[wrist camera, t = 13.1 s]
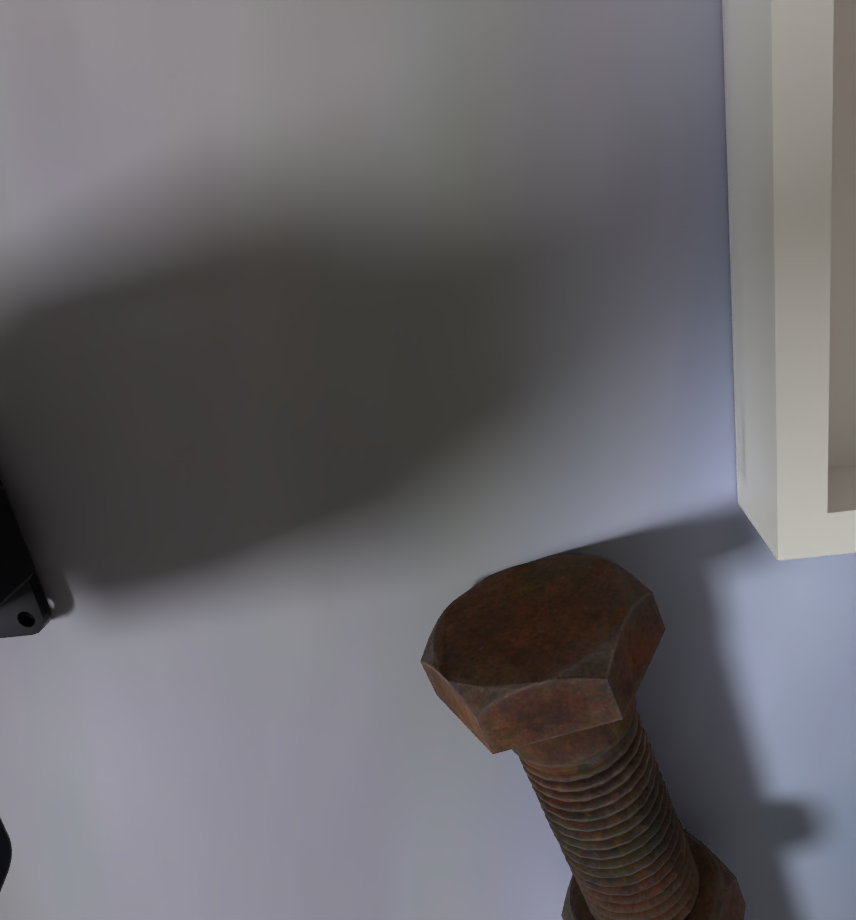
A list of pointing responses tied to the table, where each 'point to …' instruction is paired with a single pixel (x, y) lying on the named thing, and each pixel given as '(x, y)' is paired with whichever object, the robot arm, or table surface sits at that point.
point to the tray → (793, 268)
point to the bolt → (580, 730)
